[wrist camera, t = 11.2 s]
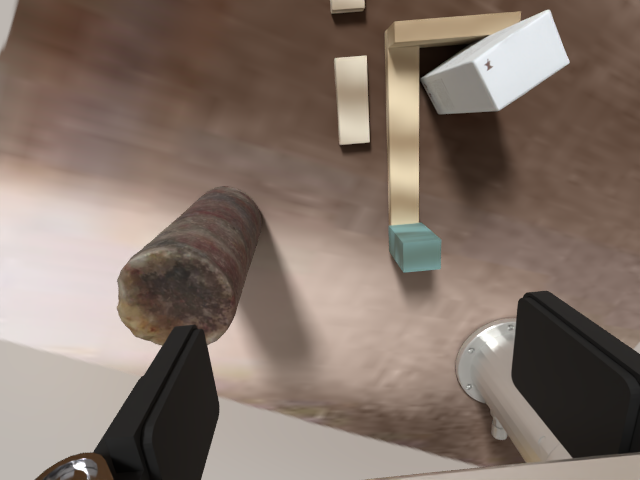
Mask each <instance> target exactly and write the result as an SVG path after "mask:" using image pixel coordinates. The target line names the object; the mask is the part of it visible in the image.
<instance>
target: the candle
mask: <svg viewBox="0 0 640 480" xmlns="http://www.w3.org/2000/svg"><path fill="white" fill-rule="evenodd" d="M260 232H261V215H260V212H259V209H258V207H257V205H256V204H255V203H254V201H253V200H252V199H251V198H250V197H249V196H248V195H247V194H246V193H244V192H242V191H240V190H238V189H235V188H231V187H228V186H222V187H217V188H214V189H212V190H210V191H208V192H207V193H205V194H204V195H203V196H202V197H201V198H199V199H198V200H197V201H196V202H195V203H194V204H193V205H192V206H190V207H189V208H188V209H187V210H186V211H185V212H184V213H183V214H182V215H181V216H180V217H179V218H177V219H176V220H175V221H174V222H173V223H172V224H171V225H169V226H168V227H167V228H166V229H164V230H163V231H162V232H161V233H160V234H159V235H158V236H157V237H156V238H155V239H153V240H152V241H151V242H150V243H149V244H147V245H146V246H145V247H144V248H143V249H142V250H141V251H139V252H138V253H137V254H135V255H134V256H133V257H132V258H131V259H130V260H129V261H128V263H127V264H126V265H125V266H124V268H123V269H122V270H121V272H120V275H119V277H118V280H117V282H118V287H119V295H118V297H119V303H118V306H117V310H118V313H119V316H120V318H121V321H122V322H123V323H124V324H125V326H126V327H128V328H129V329H130V330H131V332H132V333H133V334H134V335H135V337H138V338H141V339H144V340H148V341H151V342H153V343H155V344H158V345H162V346H163V344H164V343H165V341H166V339H167V338H168V336H169V334H170V333H171V331H172V330H173V328H174V327H176V326H185V325H196V326H197V328H198V329H203V330H204V333H205V338H206V343H207V345H208V344H210V343H213V342H215V341H217V340H218V339H219V338H220V337H221V336H222V335H223V334H224V333H225V332H226V331H227V329H228V328H229V326H230V324H231V323H232V321H233V318H234V316H235V313H236V310H237V306H238V303H239V299H240V296H241V293H242V289H243V286H244V283H245V279H246V276H247V272H248V270H249V267H250V264H251V261H252V258H253V255H254V251H255V248H256V246H257V242H258V239H259V235H260Z"/></svg>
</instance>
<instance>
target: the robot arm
mask: <svg viewBox="0 0 640 480" xmlns="http://www.w3.org/2000/svg"><path fill="white" fill-rule="evenodd" d="M455 367H456V375H457V378H458V381H459V383H460V384H461V386H462V388H463V389H464V391H465V392H466V393H467V394H468V395H469V396H470V397H472V398H473V399H475V400H477V401H479V402H482V403H485V404H487V405H488V407H489V408H490V413H491V416H492V417H493V420H492V428H491V434H492V435H493V437H495V438H496V439H499V440H505V439H506V438H507V435H508V436H509V438H510V439H511V441H512V442H513V444H514V445H515V447H516V448H517V450H518V451H519V453H520V454H521V456H522V457H523V459H524V460H525V462H526V463H520V464H510V465H500V466H490V467H480V468H471V469H462V470H451V471H442V472H432V473H423V474H413V475H405V476H395V477H386V478H376V479H367V480H640V354H639V353H637V352H636V351H635V350H633V349H632V348H630V347H629V346H627V345H626V344H624V343H623V342H621V341H620V340H619V339H617V338H616V337H614V336H613V335H611V334H610V333H608V332H607V331H606V330H604V329H603V328H601V327H600V326H598V325H597V324H595V323H594V322H592V321H591V320H590V319H588V318H587V317H585V316H584V315H582V314H581V313H579V312H578V311H576V310H575V309H574V308H572V307H571V306H569V305H568V304H566V303H565V302H563V301H562V300H561V299H559V298H558V297H556V296H555V295H553V294H552V293H550V292H548V291H540V292H529V293H526V294H525V295H524V296H523V298H521V299H519V301H518V308H517V318H507V319H501V320H496V321H493V322H491V323H488V324H486V325H484V326H483V327H481V328H479V329H477V330H476V331H475V332H474V333H473V334H471V335H470V336H469V337H468V339H467V340H466V341H465V342H464V344H463V345H462V347H461V348H460V350H459V353H458V356H457V359H456V365H455ZM218 416H219V401H218V396H217V391H216V386H215V381H214V376H213V372H212V367H211V362H210V357H209V352H208V347H207V343H206V338H205V333H204V330H203V329H198V328H197V326H196V325H185V326H176V327H174V328H173V330H172V331H171V333H170V334H169V336H168V338H167V339H166V341H165V343H164V344H163V346H162V347H161V349H160V351H159V352H158V354H157V355H156V357H155V359H154V360H153V362H152V363H151V365H150V367H149V368H148V370H147V372H146V373H145V375H144V376H142V377H141V378H140V379H139V380H138V382H137V384H136V385H135V387H134V388H133V390H132V391H131V393H130V395H129V396H128V398H127V399H126V401H125V403H124V404H123V406H122V407H121V409H120V410H119V412H118V414H117V415H116V417H115V418H114V420H113V422H112V423H111V425H110V427H109V428H108V430H107V431H106V433H105V434H104V436H103V438H102V439H101V441H100V442H99V444H98V445H97V447H96V449H95V450H94V452H92V453H91V452H90V453H80V454H77V455H73V456H70V457H68V458H65V459H63V460H61V461H59V462H57V463H56V464H54V465H53V466H51V467H49V468H48V469H46V470H45V471H44V472H43V473H42V474H40V475H39V476H38V477H37V478H36V479H35V480H201V477H202V474H203V470H204V467H205V463H206V459H207V456H208V452H209V449H210V445H211V442H212V438H213V435H214V431H215V428H216V424H217V420H218Z"/></svg>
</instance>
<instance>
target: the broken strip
mask: <svg viewBox="0 0 640 480" xmlns="http://www.w3.org/2000/svg"><path fill="white" fill-rule="evenodd" d="M330 3H331V14H334V13H347V12H359V11H363V10H364V8H365V2H364V0H330ZM334 67H335V83H336V99H337V115H338V131H339V144H340V145H344V144H356V143H367V142H370V136H369V109H368V82H367V56H356V57H344V58H335V59H334Z"/></svg>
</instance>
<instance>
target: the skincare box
mask: <svg viewBox="0 0 640 480" xmlns="http://www.w3.org/2000/svg"><path fill="white" fill-rule="evenodd" d="M569 63H570V62H569V59H568V57H567V55H566V52H565V50H564V47H563V44H562V42H561V39H560V36H559V34H558V31H557V28H556V26H555V23H554V20H553V17H552V15H551V12H550V10H546V11H543V12H541V13H539V14H537V15H534V16H532V17H530V18H528V19H525V20H523V21H521V22H518V23H516V24H514V25H512V26H510V27H507V28H505V29H503V30H501V31H498V32H496V33H494V34H492V35H489V36H487V37H485V38H483V39H480V40H478V41H476V42H474V43H471V44H469V45H468V46H466V47H465V48H464V49H462V50H461V51H459V52H458V53H456V54H455V55H453V56H452V57H451V58H449V59H448V60H446V61H445V62H443V63H442V64H440V65H439V66H438V67H436V68H435V69H433V70H432V71H430V72H429V73H428V74H426V75H425V76H423V77H422V78H421V79H420V81H421V82H422V84H423V86H424V88H425V90H426V92H427V94H428V96H429V98H430V99H431V101H432V103H433V105H434V107H435V109H436V111H437V113H438V114H454V113H472V112H490V111H499V110H501V109H502V108H504V107H505V106H507V105H509V104H510V103H512V102H513V101H515V100H516V99H518V98H519V97H521V96H522V95H524V94H525V93H527V92H528V91H529V90H531V89H532V88H534V87H535V86H537V85H538V84H539V83H541V82H542V81H544V80H545V79H547V78H548V77H550V76H551V75H553V74H554V73H556V72H557V71H559V70H560V69H562V68H563V67H565V66H566V65H568V64H569Z"/></svg>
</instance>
